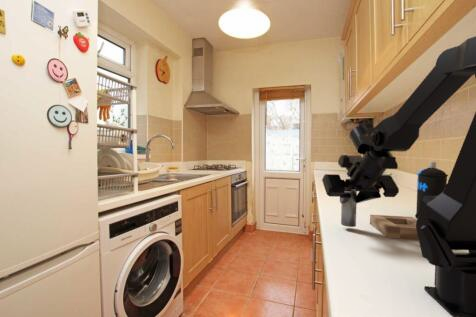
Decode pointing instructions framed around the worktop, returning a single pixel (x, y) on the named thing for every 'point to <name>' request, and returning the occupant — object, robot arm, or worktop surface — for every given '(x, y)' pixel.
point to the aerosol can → (430, 183)
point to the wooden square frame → (395, 226)
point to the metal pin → (349, 210)
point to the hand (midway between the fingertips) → (348, 202)
